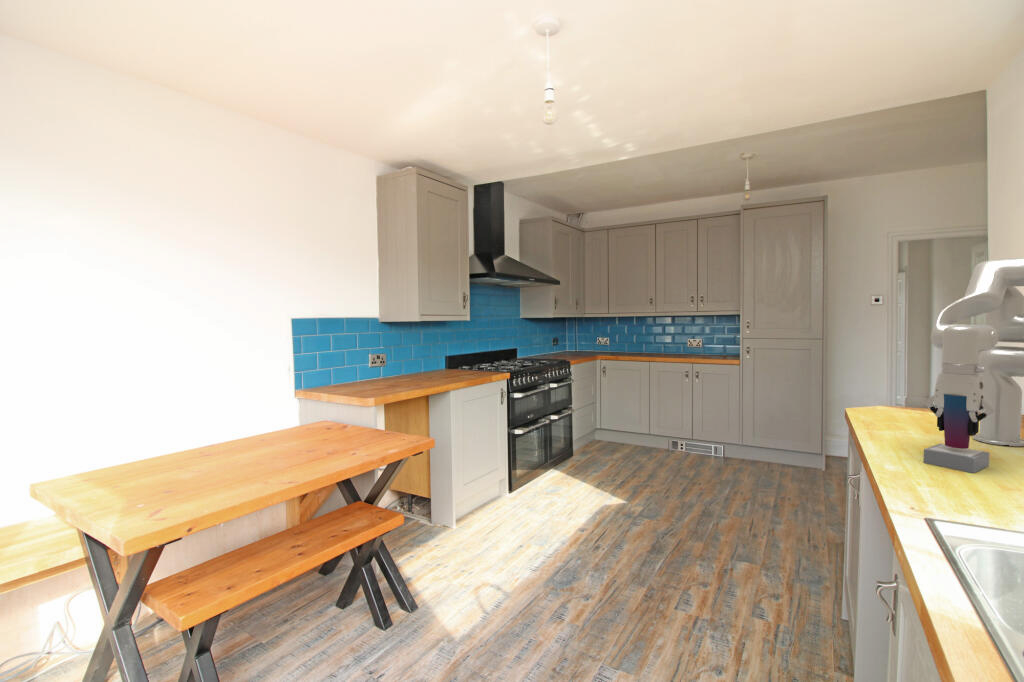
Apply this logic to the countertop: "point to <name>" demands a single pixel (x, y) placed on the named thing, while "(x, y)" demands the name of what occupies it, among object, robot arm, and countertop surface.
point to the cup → (956, 421)
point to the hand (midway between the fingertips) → (957, 432)
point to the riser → (956, 458)
